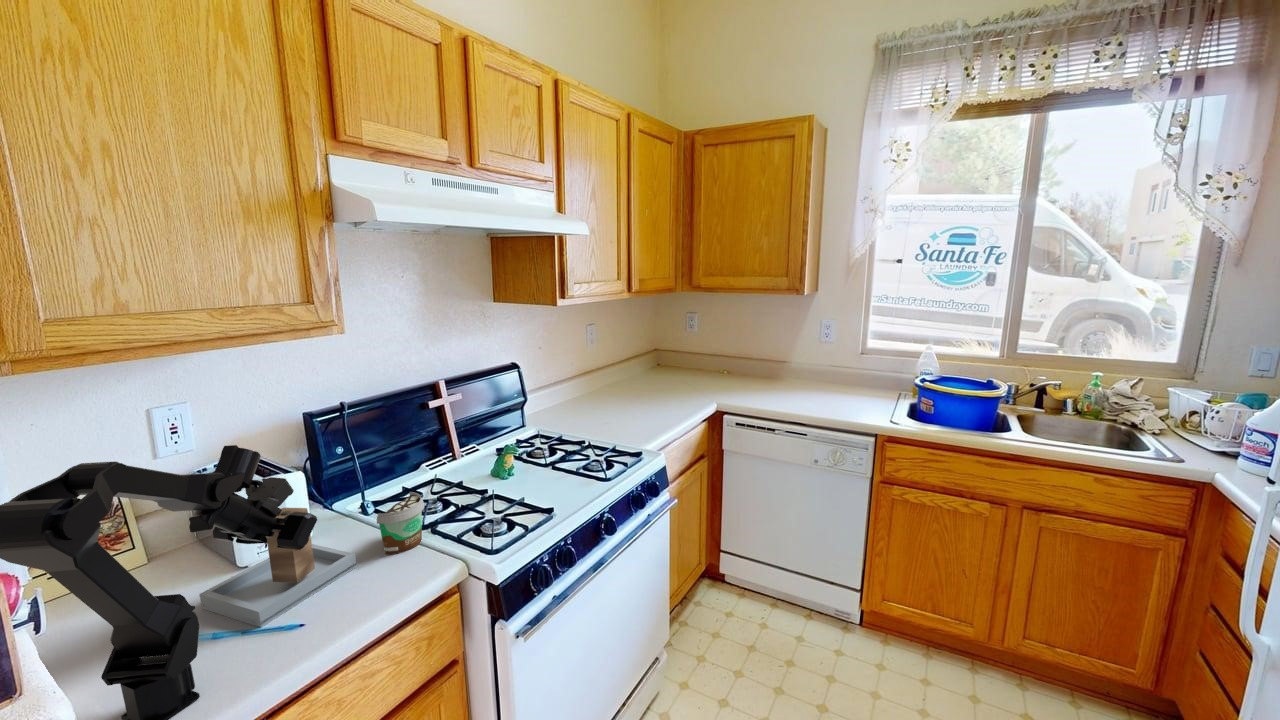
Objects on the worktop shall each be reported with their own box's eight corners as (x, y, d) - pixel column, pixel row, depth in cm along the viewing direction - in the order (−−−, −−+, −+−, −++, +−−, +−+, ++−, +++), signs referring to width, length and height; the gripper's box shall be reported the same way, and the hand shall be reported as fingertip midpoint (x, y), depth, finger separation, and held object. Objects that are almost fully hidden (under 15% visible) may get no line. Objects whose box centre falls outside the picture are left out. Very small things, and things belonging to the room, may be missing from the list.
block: (297, 582, 103) (288, 519, 100) (272, 581, 103) (263, 518, 101) (314, 568, 107) (307, 507, 105) (291, 567, 108) (283, 506, 106)
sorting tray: (261, 627, 94) (258, 611, 93) (202, 608, 99) (199, 593, 99) (356, 566, 112) (355, 553, 111) (302, 553, 117) (300, 541, 117)
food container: (405, 560, 114) (401, 517, 112) (380, 557, 115) (375, 514, 114) (438, 532, 126) (434, 492, 124) (415, 530, 127) (411, 490, 125)
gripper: (302, 473, 95) (354, 504, 108) (218, 467, 99) (277, 497, 112) (269, 536, 89) (328, 561, 102) (181, 526, 93) (248, 551, 106)
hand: (295, 540), depth 105 cm, fingers closed on block, 5 cm apart
